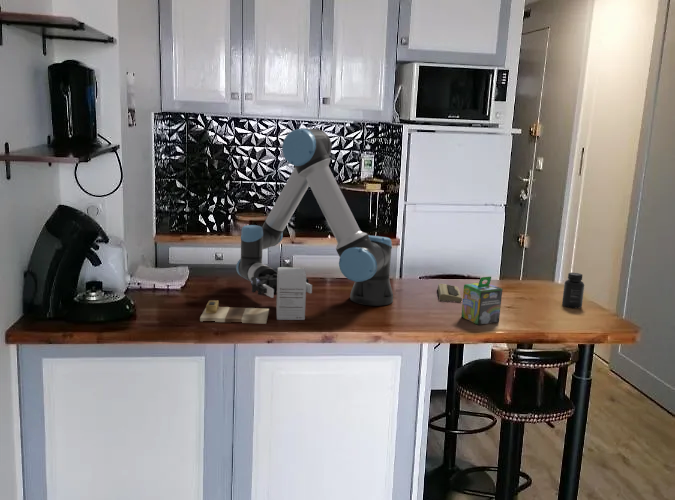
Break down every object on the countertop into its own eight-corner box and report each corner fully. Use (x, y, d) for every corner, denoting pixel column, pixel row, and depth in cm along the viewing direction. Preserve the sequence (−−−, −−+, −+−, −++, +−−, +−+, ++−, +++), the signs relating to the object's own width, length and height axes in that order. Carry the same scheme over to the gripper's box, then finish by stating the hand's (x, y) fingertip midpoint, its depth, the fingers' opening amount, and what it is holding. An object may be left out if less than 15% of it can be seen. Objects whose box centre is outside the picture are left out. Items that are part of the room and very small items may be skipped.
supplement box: (275, 311, 212) (277, 266, 209) (303, 311, 213) (305, 267, 210) (276, 320, 203) (277, 273, 200) (305, 320, 204) (306, 273, 201)
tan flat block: (461, 303, 234) (462, 294, 233) (439, 301, 234) (439, 293, 234) (458, 292, 249) (459, 284, 248) (437, 291, 250) (437, 282, 249)
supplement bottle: (584, 306, 236) (589, 274, 234) (577, 310, 231) (581, 277, 229) (566, 302, 240) (570, 270, 238) (558, 305, 236) (562, 273, 233)
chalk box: (481, 314, 220) (486, 271, 217) (500, 322, 212) (504, 278, 209) (459, 317, 215) (463, 273, 212) (477, 325, 207) (482, 280, 204)
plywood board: (268, 312, 210) (269, 300, 210) (266, 323, 199) (266, 311, 198) (206, 309, 209) (206, 298, 209) (200, 321, 198) (200, 309, 197)
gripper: (294, 283, 230) (325, 298, 212) (228, 290, 217) (255, 307, 199) (295, 262, 228) (326, 276, 211) (228, 268, 215) (256, 283, 198)
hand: (292, 291), depth 205 cm, fingers open, 13 cm apart
